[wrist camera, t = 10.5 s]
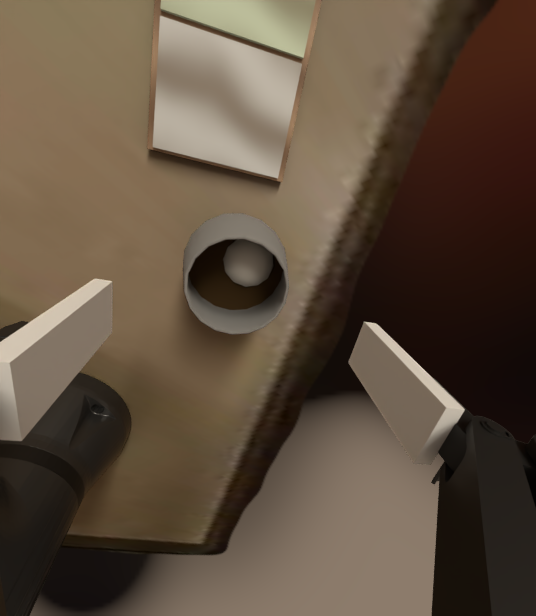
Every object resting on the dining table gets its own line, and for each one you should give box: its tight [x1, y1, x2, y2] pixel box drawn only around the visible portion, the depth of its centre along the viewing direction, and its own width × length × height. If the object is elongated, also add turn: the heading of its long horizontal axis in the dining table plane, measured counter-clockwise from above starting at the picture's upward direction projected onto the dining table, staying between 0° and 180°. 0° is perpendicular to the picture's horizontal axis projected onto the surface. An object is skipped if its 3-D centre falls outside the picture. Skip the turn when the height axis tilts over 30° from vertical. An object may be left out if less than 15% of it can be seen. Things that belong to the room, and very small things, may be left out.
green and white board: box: [147, 0, 322, 182], centre depth 22 cm, size 18×12×1 cm, turn 168°
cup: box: [183, 213, 289, 335], centre depth 25 cm, size 10×9×10 cm
